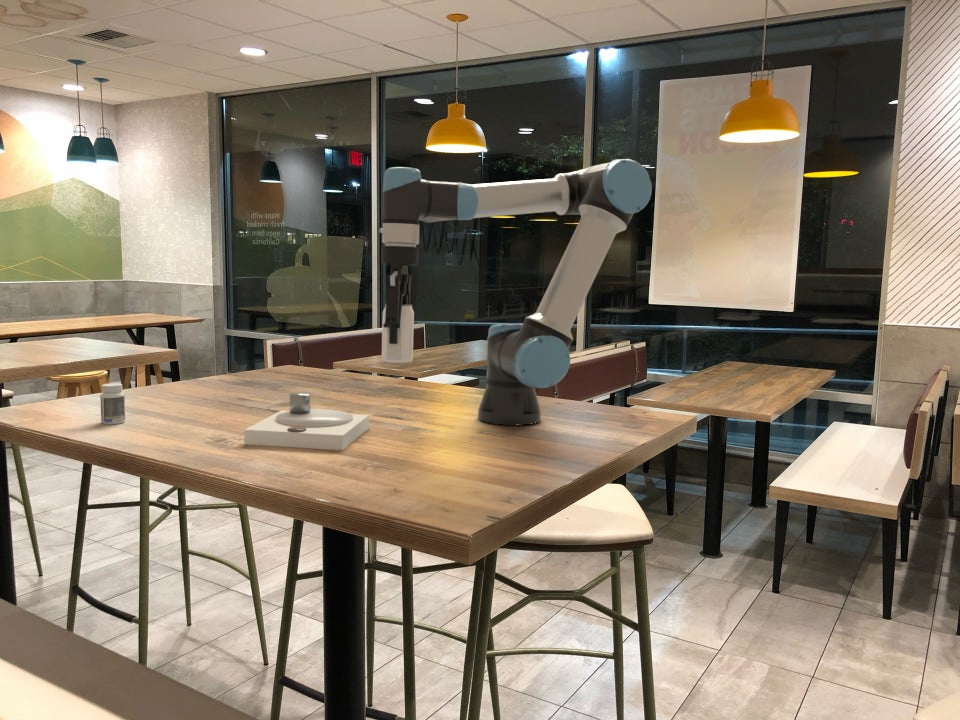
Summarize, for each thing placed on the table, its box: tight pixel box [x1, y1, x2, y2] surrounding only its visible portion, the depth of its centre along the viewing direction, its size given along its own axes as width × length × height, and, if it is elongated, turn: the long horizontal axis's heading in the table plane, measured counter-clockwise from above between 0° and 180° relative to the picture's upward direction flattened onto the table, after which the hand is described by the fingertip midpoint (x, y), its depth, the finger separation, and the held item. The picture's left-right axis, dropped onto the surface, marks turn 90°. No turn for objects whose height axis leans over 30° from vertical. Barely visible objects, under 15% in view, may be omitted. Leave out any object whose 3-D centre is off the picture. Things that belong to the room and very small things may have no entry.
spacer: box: [289, 391, 311, 414], centre depth 163 cm, size 4×4×4 cm
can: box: [381, 303, 415, 365], centre depth 155 cm, size 6×6×12 cm
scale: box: [243, 408, 370, 451], centre depth 157 cm, size 20×21×4 cm
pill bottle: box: [99, 382, 126, 425], centre depth 162 cm, size 5×5×8 cm
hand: (397, 357), depth 155 cm, fingers closed on can, 6 cm apart
